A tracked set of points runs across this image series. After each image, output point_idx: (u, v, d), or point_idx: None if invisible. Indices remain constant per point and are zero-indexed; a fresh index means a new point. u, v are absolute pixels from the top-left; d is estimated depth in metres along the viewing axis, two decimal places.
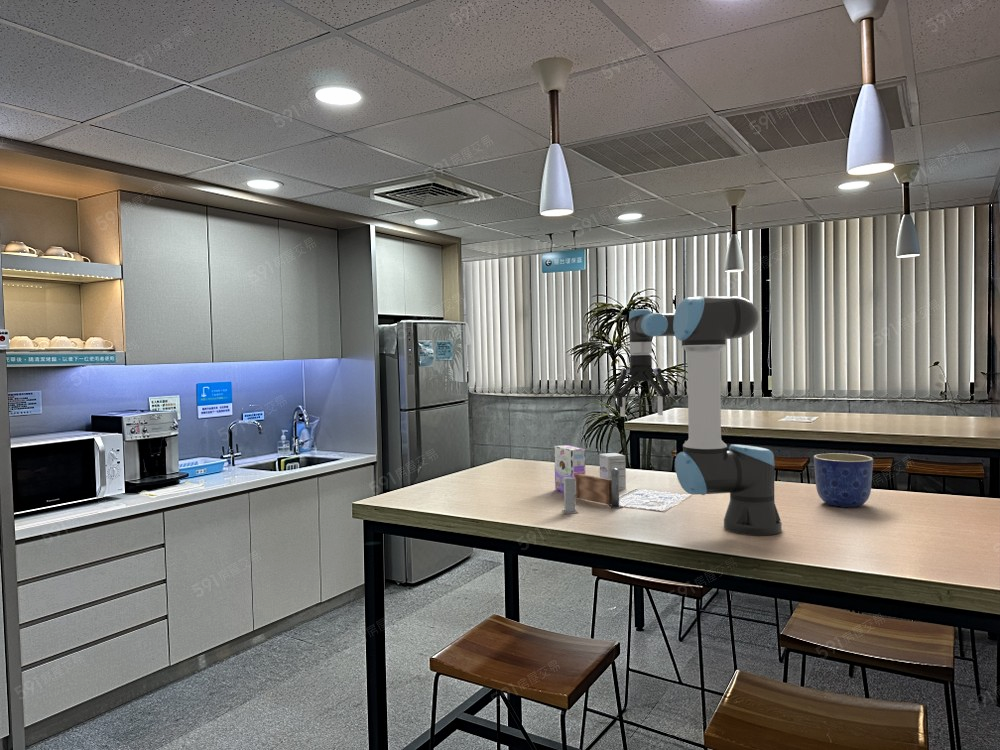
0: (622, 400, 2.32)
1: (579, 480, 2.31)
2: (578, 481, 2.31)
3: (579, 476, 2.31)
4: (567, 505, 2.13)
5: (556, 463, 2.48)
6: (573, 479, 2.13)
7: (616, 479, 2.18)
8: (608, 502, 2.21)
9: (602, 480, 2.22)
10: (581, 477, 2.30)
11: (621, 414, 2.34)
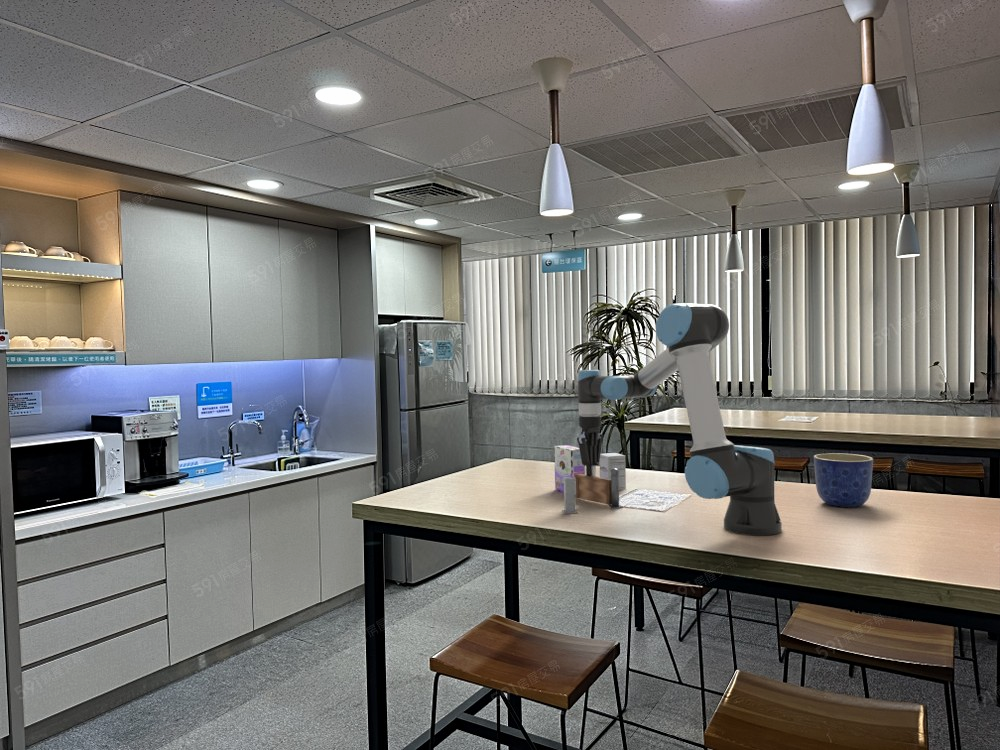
0: (592, 468, 2.28)
1: (579, 480, 2.31)
2: (578, 481, 2.31)
3: (579, 476, 2.30)
4: (567, 505, 2.13)
5: (556, 463, 2.48)
6: (573, 479, 2.13)
7: (616, 479, 2.18)
8: (608, 502, 2.21)
9: (602, 480, 2.22)
10: (581, 477, 2.30)
11: None
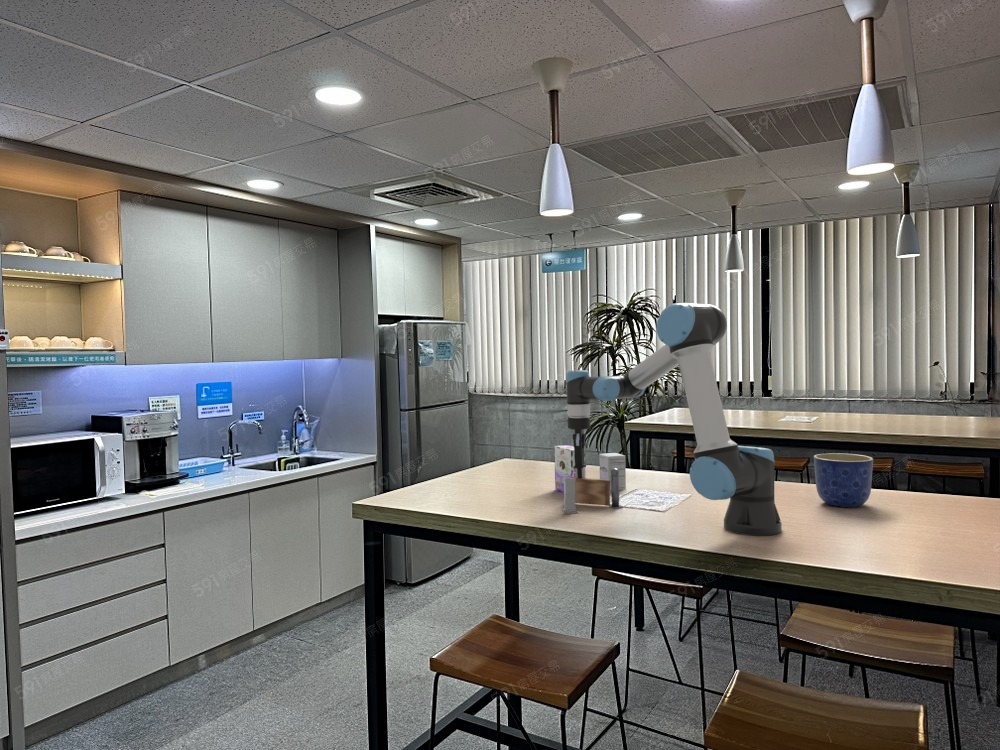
0: (582, 471, 2.25)
1: None
2: None
3: None
4: (567, 505, 2.13)
5: (556, 463, 2.48)
6: (573, 479, 2.13)
7: (616, 479, 2.18)
8: (607, 503, 2.20)
9: (600, 481, 2.20)
10: None
11: None
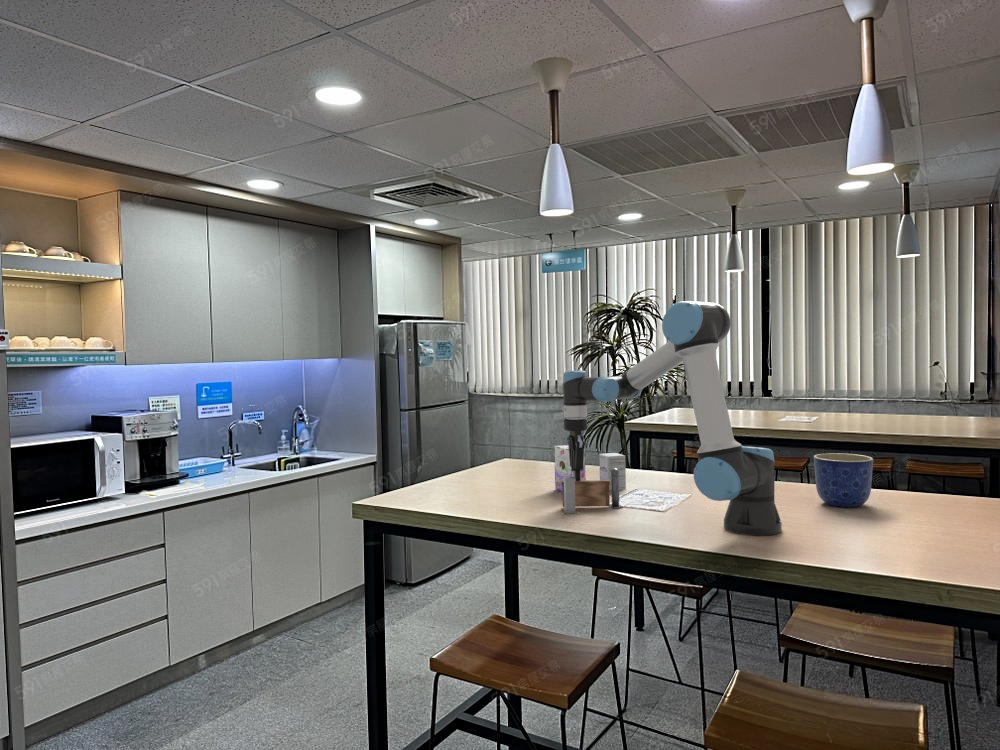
0: (580, 473, 2.20)
1: None
2: None
3: None
4: (567, 505, 2.13)
5: (556, 463, 2.48)
6: (573, 479, 2.13)
7: (616, 479, 2.18)
8: (608, 503, 2.19)
9: (600, 482, 2.18)
10: None
11: None
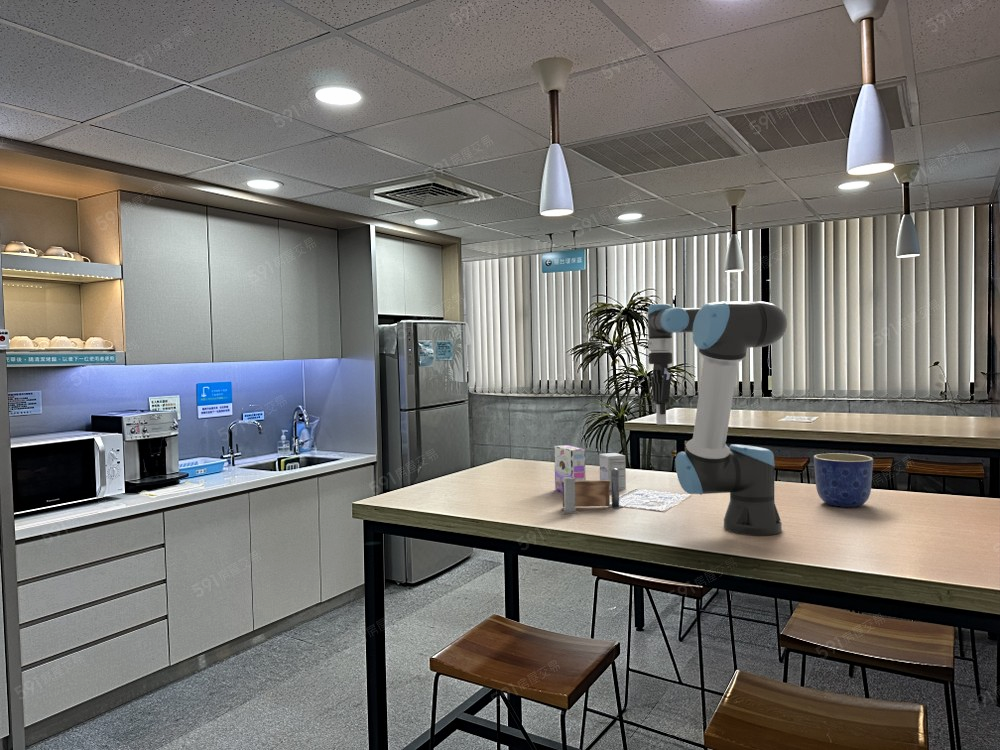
0: None
1: None
2: None
3: None
4: (567, 505, 2.13)
5: (556, 463, 2.48)
6: (573, 479, 2.13)
7: (616, 479, 2.18)
8: (608, 503, 2.19)
9: (600, 482, 2.18)
10: None
11: (661, 422, 2.20)
